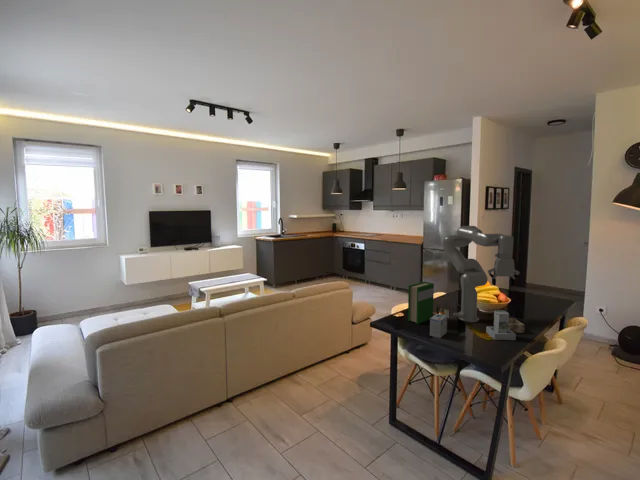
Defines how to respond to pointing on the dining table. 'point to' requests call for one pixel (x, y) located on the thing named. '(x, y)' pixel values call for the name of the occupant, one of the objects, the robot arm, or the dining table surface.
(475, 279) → the robot arm
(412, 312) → the hardback book
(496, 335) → the seat block
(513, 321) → the brown square tray
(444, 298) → the dining table surface
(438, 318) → the light bulb box
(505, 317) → the syrup box
